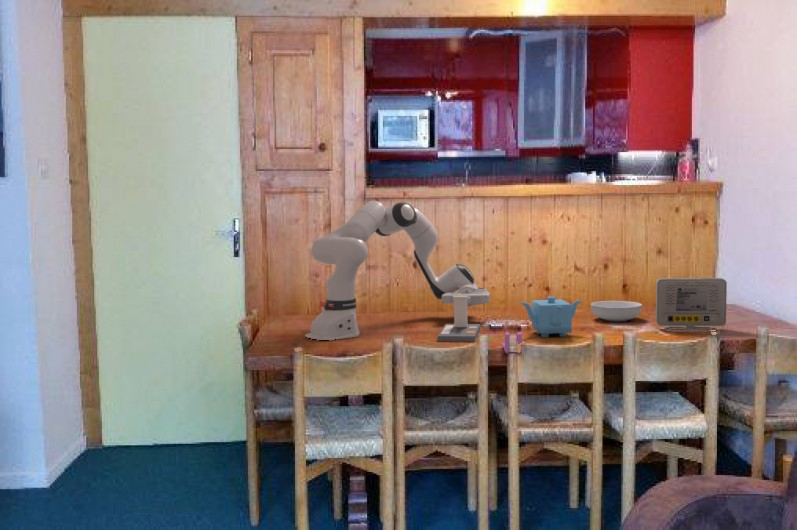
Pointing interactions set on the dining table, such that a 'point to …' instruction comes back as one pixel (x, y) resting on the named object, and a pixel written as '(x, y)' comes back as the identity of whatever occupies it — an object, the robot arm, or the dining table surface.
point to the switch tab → (460, 311)
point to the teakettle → (551, 316)
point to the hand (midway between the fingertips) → (464, 301)
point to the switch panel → (459, 333)
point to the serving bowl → (616, 310)
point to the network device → (691, 303)
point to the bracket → (507, 336)
